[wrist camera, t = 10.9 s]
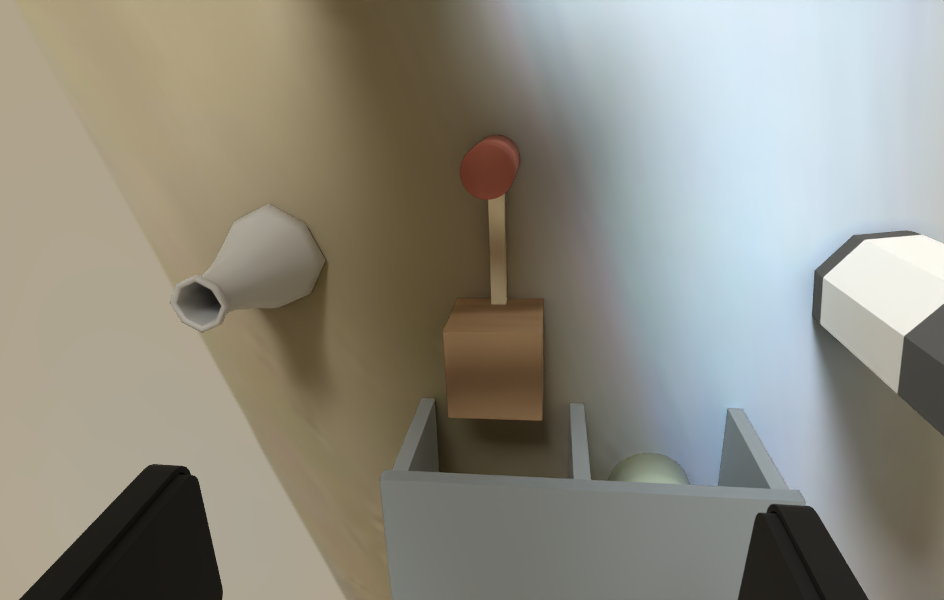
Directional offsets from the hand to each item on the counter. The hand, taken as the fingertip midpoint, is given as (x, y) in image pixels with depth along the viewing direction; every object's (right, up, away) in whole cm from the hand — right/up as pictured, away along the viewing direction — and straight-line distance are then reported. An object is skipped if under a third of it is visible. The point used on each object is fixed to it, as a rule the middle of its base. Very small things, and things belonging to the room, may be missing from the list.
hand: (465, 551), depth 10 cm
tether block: (+2, +7, +31) cm, 32 cm away
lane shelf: (+8, -9, +36) cm, 38 cm away
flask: (-14, +7, +33) cm, 37 cm away
